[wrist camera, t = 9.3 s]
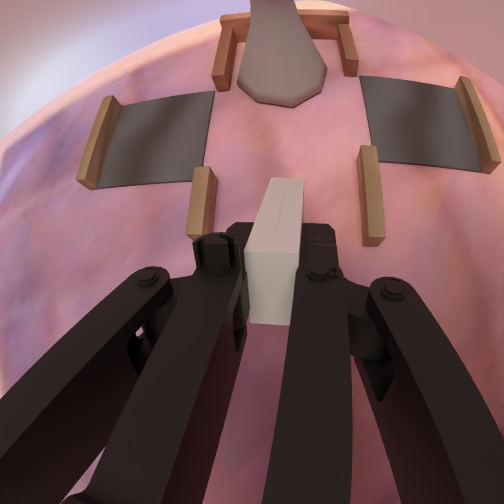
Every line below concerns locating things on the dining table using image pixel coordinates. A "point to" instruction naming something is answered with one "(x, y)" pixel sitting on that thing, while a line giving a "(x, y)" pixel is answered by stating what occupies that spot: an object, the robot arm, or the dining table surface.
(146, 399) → the robot arm
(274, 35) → the flask
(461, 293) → the dining table surface
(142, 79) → the dining table surface
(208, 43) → the dining table surface
